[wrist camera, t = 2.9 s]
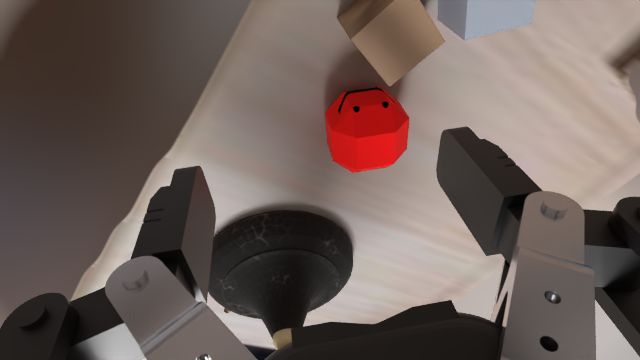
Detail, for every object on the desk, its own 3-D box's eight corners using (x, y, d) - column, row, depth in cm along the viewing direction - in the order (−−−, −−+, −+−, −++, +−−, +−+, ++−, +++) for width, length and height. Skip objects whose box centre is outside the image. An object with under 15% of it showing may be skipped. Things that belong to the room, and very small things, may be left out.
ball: (393, 75, 40) (418, 109, 34) (390, 136, 45) (411, 175, 39) (320, 85, 39) (333, 123, 34) (325, 146, 45) (338, 188, 39)
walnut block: (387, -31, 33) (410, -15, 29) (420, 20, 37) (445, 41, 32) (336, 17, 35) (350, 39, 31) (372, 61, 39) (389, 87, 34)
